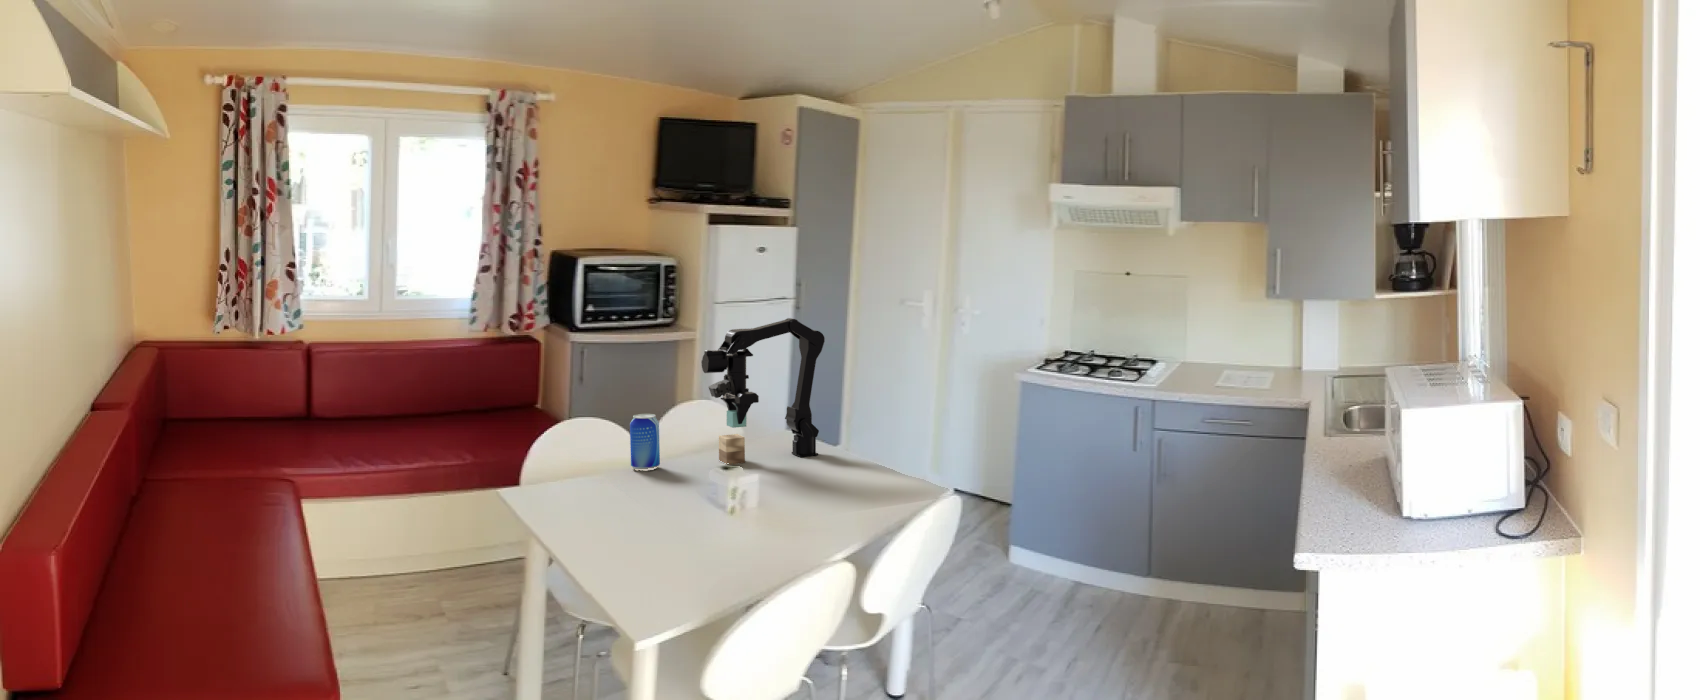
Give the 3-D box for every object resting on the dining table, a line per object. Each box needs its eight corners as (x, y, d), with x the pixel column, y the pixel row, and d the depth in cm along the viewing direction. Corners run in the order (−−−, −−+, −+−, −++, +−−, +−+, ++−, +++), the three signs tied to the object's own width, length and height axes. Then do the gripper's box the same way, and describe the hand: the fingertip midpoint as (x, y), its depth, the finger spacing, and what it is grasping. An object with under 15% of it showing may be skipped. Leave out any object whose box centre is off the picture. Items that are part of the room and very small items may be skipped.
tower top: (737, 446, 317) (737, 433, 316) (744, 450, 311) (744, 437, 311) (719, 448, 314) (718, 435, 313) (726, 452, 309) (725, 439, 308)
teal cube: (740, 424, 314) (740, 409, 313) (746, 426, 310) (746, 411, 310) (726, 425, 312) (726, 410, 311) (732, 427, 308) (732, 413, 307)
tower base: (737, 459, 317) (736, 446, 317) (744, 463, 312) (744, 450, 312) (719, 461, 314) (718, 448, 314) (726, 465, 309) (726, 452, 309)
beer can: (663, 466, 307) (662, 413, 305) (655, 472, 299) (654, 418, 297) (636, 465, 308) (634, 412, 306) (627, 471, 300) (625, 417, 298)
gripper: (699, 369, 313) (699, 419, 315) (724, 376, 297) (724, 430, 299) (733, 367, 319) (732, 416, 320) (759, 374, 303) (759, 426, 304)
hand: (736, 422), depth 311 cm, fingers closed on teal cube, 4 cm apart
